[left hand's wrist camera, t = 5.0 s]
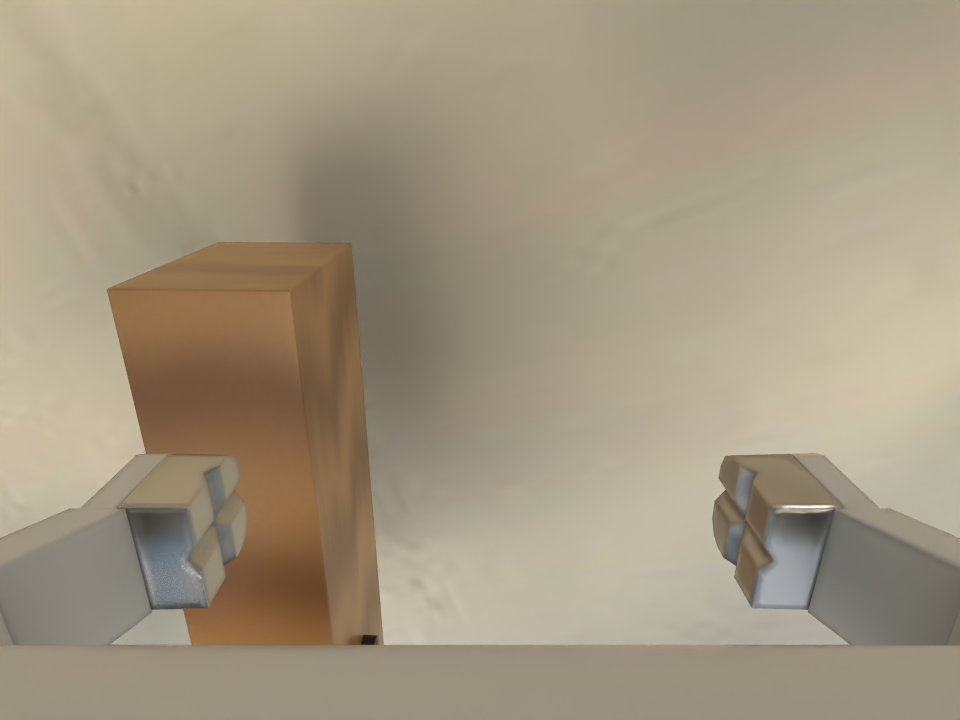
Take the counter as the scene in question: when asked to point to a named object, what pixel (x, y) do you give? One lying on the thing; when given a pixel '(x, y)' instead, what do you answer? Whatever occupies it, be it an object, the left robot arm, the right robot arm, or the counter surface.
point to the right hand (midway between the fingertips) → (308, 645)
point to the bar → (265, 428)
